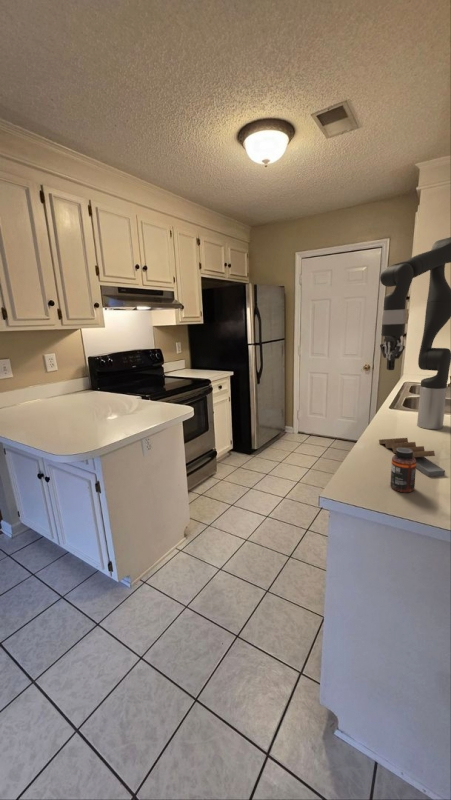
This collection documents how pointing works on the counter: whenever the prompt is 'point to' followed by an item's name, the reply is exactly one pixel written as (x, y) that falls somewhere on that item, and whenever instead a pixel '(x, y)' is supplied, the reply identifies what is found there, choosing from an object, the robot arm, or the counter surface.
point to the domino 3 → (414, 449)
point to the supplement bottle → (403, 470)
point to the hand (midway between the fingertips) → (390, 369)
